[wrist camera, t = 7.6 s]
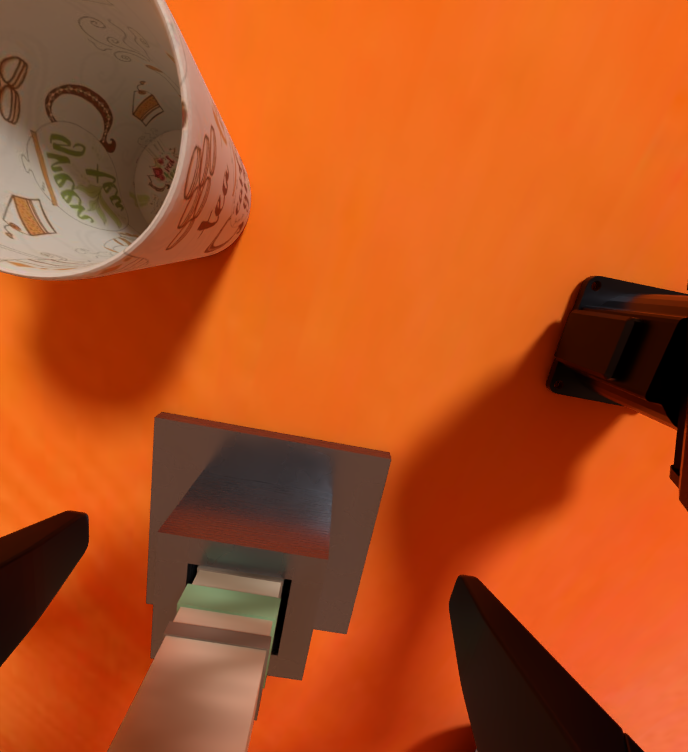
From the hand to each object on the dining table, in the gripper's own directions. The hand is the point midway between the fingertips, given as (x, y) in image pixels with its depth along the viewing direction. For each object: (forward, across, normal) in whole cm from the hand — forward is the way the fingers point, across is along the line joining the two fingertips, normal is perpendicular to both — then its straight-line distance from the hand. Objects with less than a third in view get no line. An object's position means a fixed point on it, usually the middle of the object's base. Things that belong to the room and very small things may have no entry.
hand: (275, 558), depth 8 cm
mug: (+13, +10, -10) cm, 19 cm away
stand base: (+12, +2, +10) cm, 16 cm away
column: (+7, +2, +10) cm, 13 cm away
